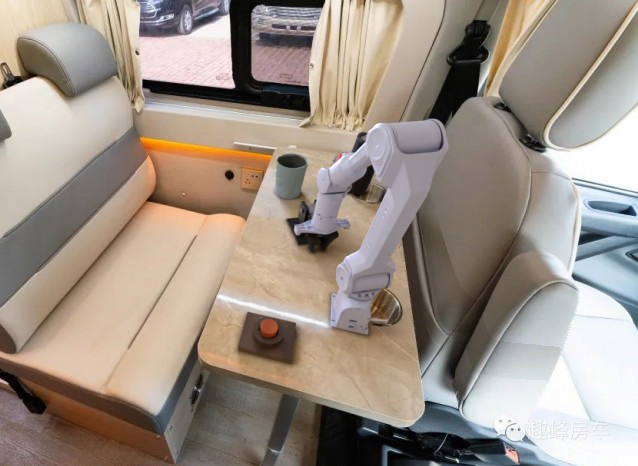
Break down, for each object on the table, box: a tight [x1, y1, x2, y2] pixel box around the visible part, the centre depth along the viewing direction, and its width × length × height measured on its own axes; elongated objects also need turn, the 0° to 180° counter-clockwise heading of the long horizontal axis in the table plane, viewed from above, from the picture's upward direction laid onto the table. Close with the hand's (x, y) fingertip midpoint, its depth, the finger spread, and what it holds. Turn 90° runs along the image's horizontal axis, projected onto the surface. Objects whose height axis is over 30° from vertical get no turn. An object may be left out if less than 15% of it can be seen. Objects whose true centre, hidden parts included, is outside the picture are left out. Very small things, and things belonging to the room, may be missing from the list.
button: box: [260, 319, 278, 338], centre depth 68 cm, size 4×4×2 cm
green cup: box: [274, 152, 309, 200], centre depth 109 cm, size 10×10×12 cm
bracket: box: [285, 198, 322, 246], centre depth 94 cm, size 11×9×10 cm
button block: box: [237, 311, 297, 365], centre depth 70 cm, size 11×9×4 cm
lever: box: [306, 202, 323, 247], centre depth 91 cm, size 12×3×3 cm
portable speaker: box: [347, 131, 375, 197], centre depth 106 cm, size 9×9×20 cm
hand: (316, 249), depth 91 cm, fingers closed on lever, 3 cm apart
